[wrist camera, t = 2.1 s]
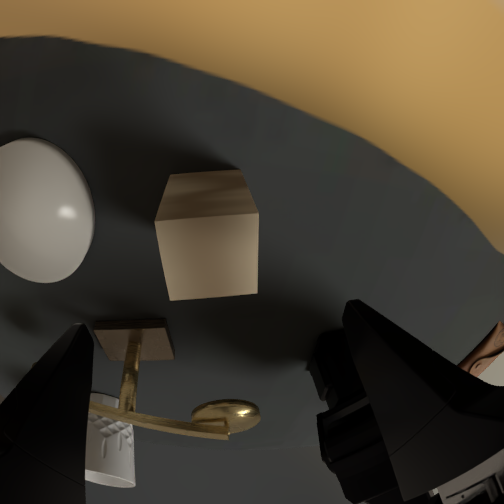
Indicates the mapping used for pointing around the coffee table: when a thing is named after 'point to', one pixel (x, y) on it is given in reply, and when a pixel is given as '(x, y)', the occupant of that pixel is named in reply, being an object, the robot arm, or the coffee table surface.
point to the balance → (161, 348)
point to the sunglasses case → (485, 351)
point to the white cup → (109, 448)
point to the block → (208, 235)
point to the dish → (43, 211)
